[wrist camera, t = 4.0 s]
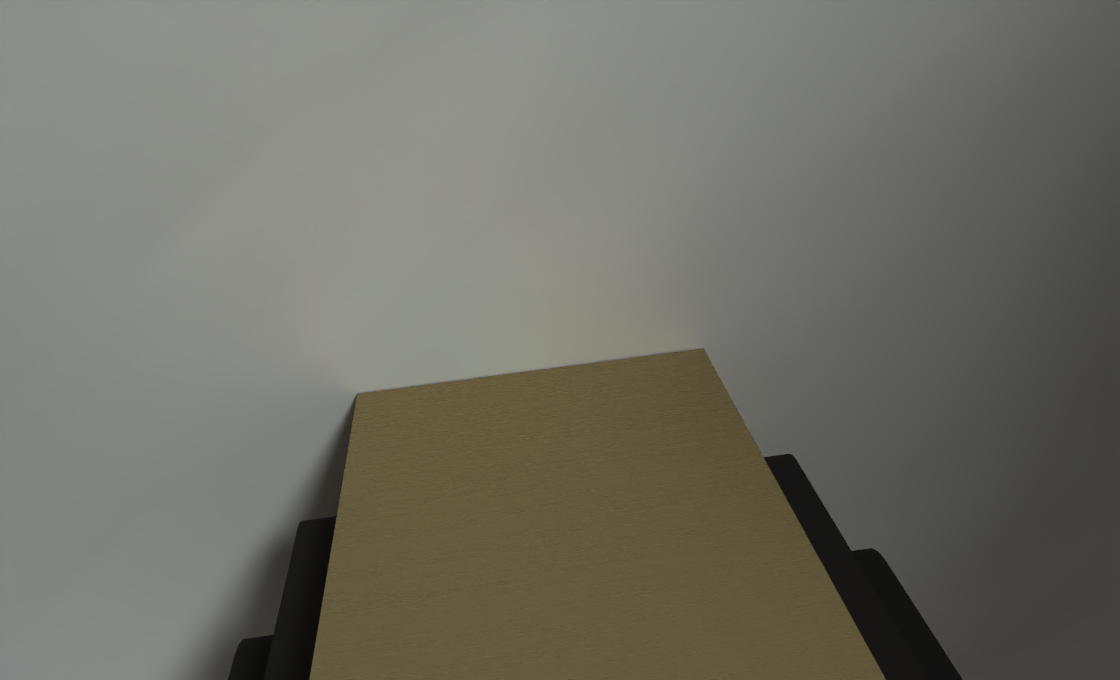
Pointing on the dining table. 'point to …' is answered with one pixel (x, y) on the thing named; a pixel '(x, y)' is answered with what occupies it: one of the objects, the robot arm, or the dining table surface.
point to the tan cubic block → (573, 537)
